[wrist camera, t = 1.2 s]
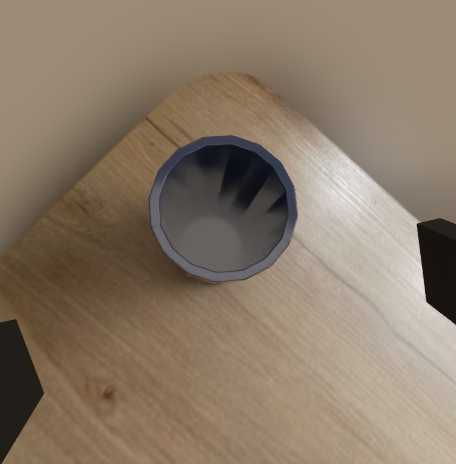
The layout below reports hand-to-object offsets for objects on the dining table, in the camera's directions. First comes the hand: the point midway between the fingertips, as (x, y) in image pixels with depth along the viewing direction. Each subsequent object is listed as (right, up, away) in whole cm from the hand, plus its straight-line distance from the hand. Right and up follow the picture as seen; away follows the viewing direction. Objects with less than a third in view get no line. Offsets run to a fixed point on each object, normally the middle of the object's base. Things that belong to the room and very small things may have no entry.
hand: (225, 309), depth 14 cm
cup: (-1, +2, +19) cm, 20 cm away
